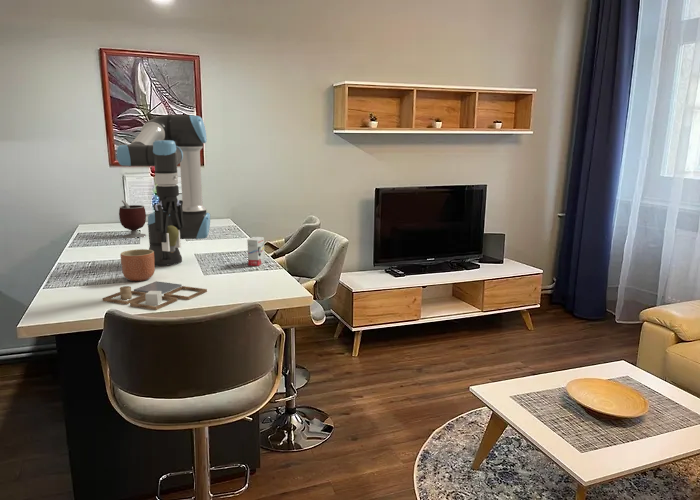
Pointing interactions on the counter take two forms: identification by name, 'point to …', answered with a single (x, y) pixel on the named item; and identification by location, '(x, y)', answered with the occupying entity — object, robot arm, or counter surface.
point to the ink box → (256, 251)
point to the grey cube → (153, 297)
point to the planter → (138, 264)
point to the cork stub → (125, 292)
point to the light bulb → (172, 237)
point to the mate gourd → (132, 219)
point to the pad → (158, 287)
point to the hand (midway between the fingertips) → (171, 248)
